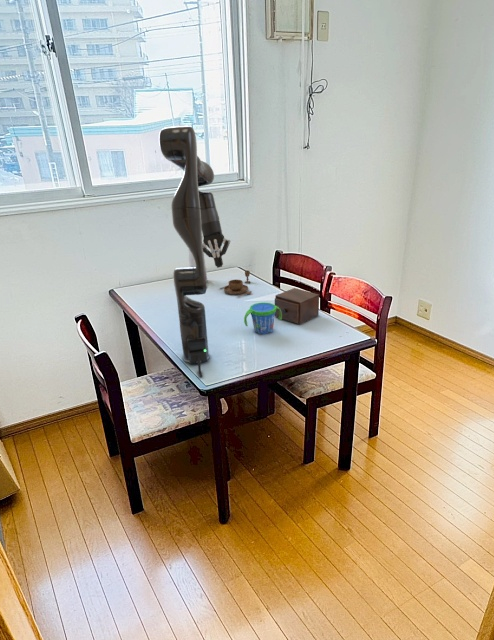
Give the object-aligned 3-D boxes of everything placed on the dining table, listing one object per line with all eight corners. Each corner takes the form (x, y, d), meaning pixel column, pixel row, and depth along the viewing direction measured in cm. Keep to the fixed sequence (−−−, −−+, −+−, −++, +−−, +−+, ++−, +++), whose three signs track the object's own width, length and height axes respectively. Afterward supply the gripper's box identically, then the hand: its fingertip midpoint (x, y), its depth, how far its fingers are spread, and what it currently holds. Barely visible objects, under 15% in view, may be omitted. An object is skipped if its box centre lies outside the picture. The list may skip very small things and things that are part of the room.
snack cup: (248, 338, 195) (247, 314, 189) (241, 328, 203) (240, 304, 198) (285, 333, 198) (285, 309, 193) (278, 323, 207) (277, 300, 202)
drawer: (295, 324, 204) (295, 306, 200) (272, 316, 211) (272, 299, 207) (314, 315, 212) (314, 297, 208) (291, 308, 219) (292, 291, 215)
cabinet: (300, 324, 206) (300, 302, 201) (275, 316, 214) (275, 295, 209) (318, 315, 214) (319, 294, 209) (294, 308, 221) (294, 287, 216)
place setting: (215, 289, 246) (214, 278, 243) (247, 281, 256) (247, 269, 253) (236, 298, 234) (236, 286, 231) (269, 289, 245) (269, 277, 242)
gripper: (190, 225, 190) (201, 271, 195) (222, 218, 186) (232, 264, 191) (197, 225, 196) (208, 269, 201) (228, 218, 192) (238, 263, 198)
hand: (219, 267), depth 196 cm, fingers closed
